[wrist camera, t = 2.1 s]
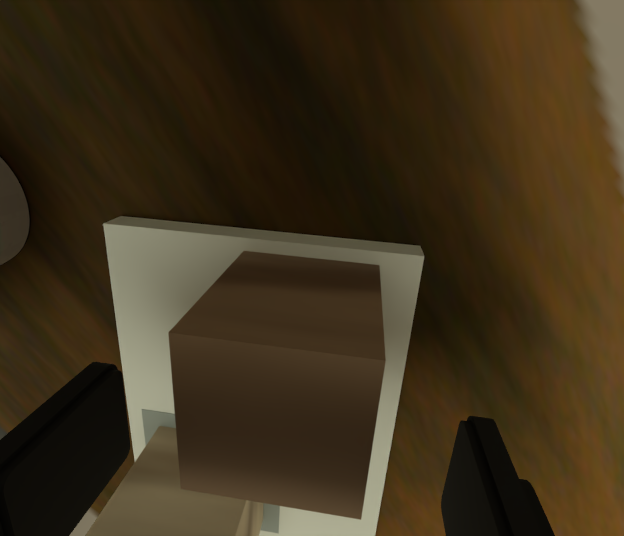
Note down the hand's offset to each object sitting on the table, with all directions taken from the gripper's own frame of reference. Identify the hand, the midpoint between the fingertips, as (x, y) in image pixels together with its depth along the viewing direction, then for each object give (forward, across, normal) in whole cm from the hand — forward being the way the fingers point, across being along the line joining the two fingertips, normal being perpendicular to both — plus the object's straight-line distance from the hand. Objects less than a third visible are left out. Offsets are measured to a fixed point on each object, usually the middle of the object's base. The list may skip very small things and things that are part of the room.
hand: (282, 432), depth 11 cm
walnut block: (+5, 0, -1) cm, 5 cm away
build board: (+6, +2, +4) cm, 8 cm away
